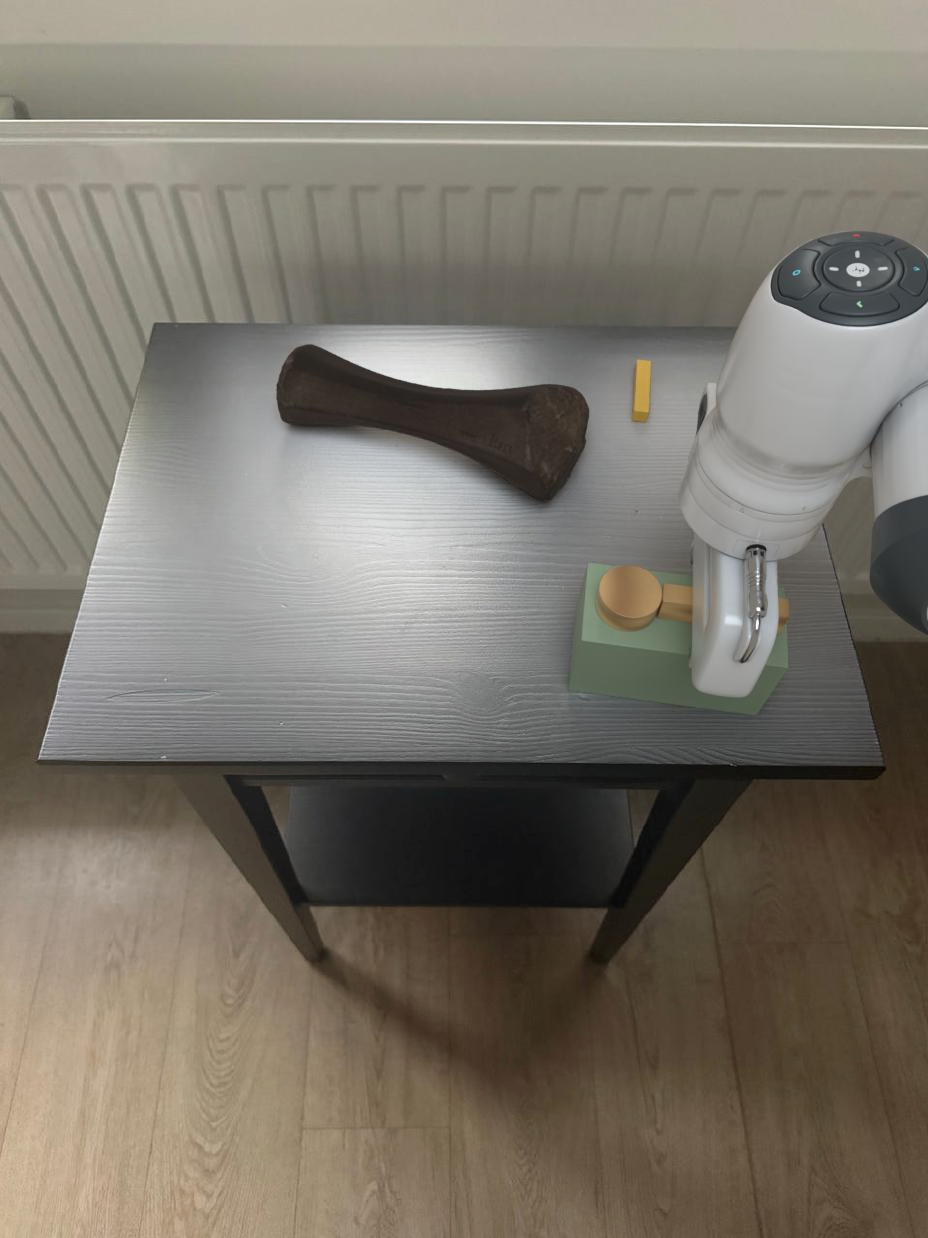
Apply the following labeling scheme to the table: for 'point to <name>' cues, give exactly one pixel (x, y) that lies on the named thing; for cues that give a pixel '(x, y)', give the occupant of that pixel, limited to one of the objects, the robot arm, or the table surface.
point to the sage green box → (653, 656)
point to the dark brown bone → (445, 416)
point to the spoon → (648, 600)
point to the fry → (641, 391)
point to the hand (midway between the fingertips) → (700, 608)
